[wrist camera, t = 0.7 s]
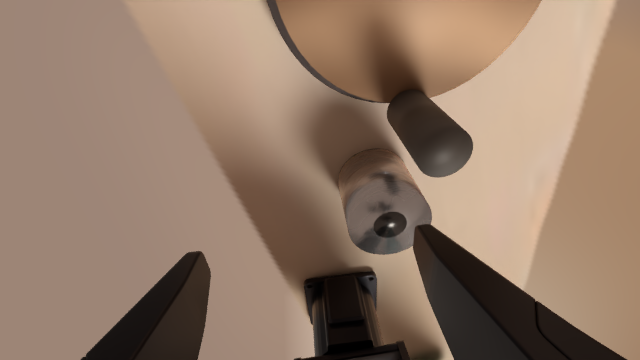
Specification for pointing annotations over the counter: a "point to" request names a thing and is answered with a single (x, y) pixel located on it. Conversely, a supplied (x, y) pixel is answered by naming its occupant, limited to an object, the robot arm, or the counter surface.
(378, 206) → the cover
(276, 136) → the counter surface
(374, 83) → the turntable
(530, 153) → the counter surface
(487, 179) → the counter surface
